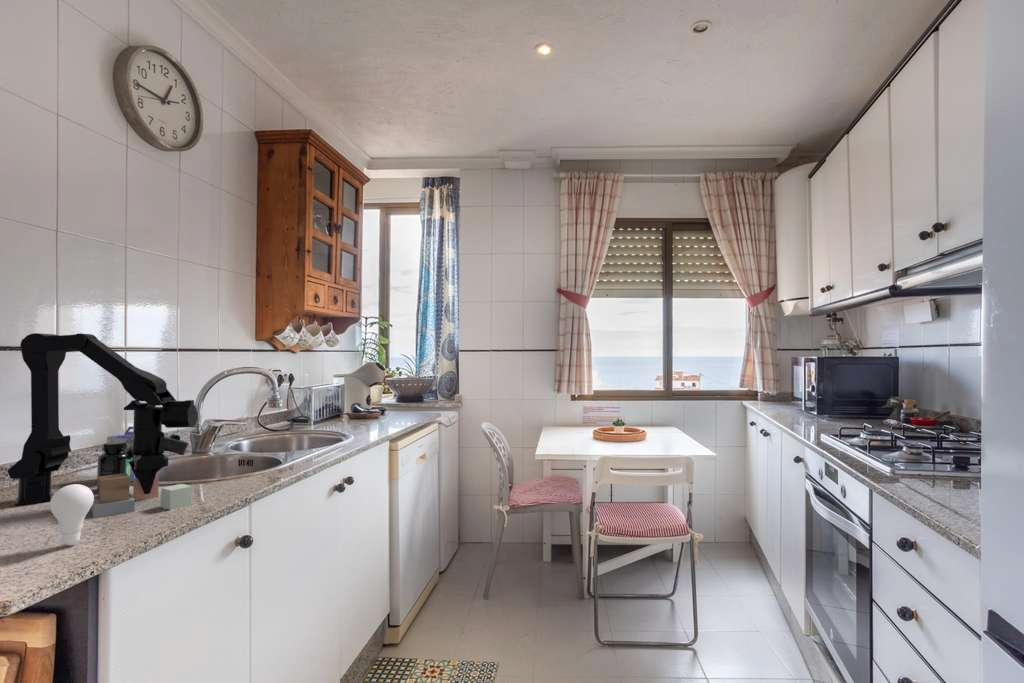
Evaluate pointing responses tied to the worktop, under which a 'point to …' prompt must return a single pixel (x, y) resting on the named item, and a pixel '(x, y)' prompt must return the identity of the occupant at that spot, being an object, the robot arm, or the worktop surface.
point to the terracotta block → (138, 490)
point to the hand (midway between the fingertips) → (145, 491)
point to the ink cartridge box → (129, 439)
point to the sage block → (176, 496)
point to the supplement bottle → (113, 460)
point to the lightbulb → (71, 510)
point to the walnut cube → (113, 488)
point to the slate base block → (112, 507)
